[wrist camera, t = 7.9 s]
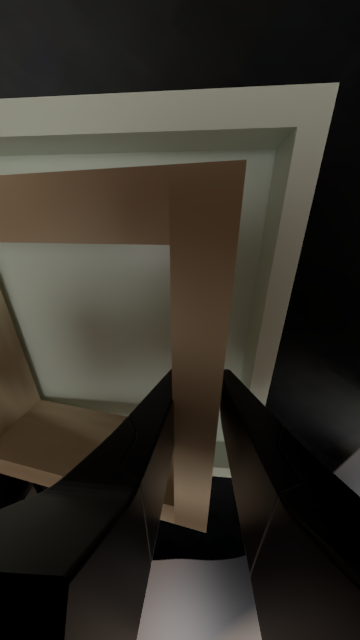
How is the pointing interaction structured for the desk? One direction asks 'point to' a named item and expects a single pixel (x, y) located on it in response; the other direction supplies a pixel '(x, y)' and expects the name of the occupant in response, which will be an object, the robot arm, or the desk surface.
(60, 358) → the tray
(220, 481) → the desk surface
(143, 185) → the frame ring
